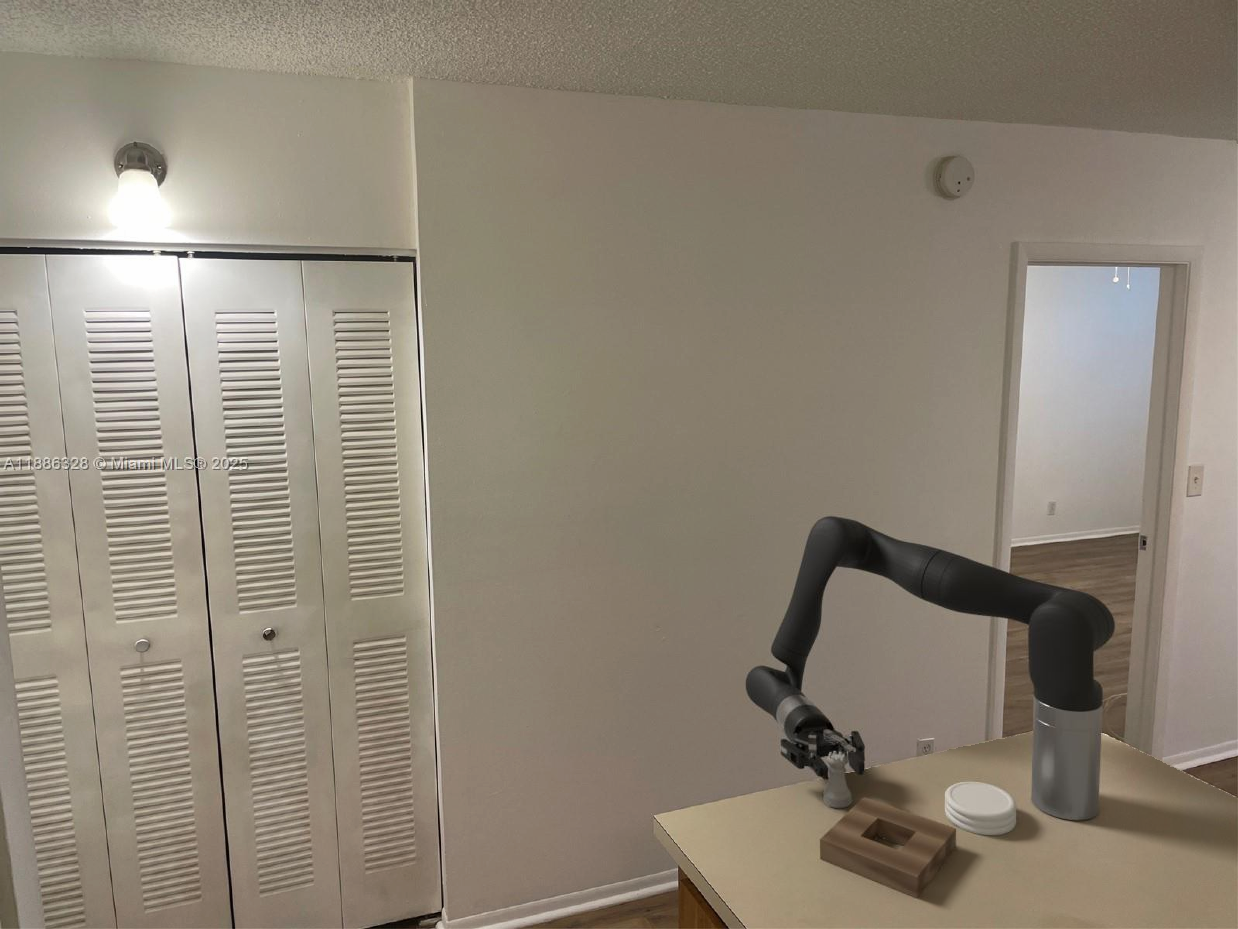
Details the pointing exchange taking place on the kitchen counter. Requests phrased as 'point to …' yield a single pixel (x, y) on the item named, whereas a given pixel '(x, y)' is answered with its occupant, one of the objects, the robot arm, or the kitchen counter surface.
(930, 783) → the kitchen counter surface
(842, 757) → the rook chess piece
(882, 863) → the socket block
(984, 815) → the coaster
